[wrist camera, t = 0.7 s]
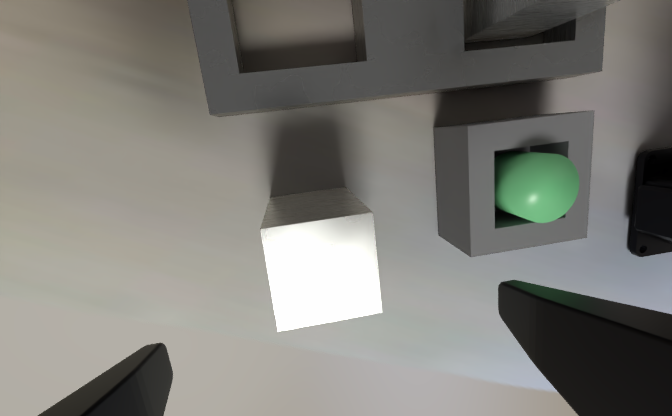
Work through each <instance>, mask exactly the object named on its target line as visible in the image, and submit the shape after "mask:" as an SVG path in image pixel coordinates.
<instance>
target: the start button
mask: <svg viewBox="0 0 672 416" xmlns="http://www.w3.org/2000/svg"><path fill="white" fill-rule="evenodd" d="M578 190H579V175H578V171H577V169H576V167H575V165H574V164H573V163H572V161H570V160H569V159H568V158H566V157H565V156H562V155H559V154H550V153H537V152H523V151H508V152H505V153H502V154H500V155H499V156H497V157H496V158H494V195H495V208H497V209H500V210H502V211H505V212H508V213H511V214H513V215H516V216H519V217H522V218H525V219H527V220H530V221H533V222H537V223H547V222H551V221H554V220H556V219H558V218H560V217H561V216H563V215H564V214H565V213H566V212H567V211H568V210H569V209H570V208H571V206H572V205H573V203H574V201H575V199H576V197H577V194H578Z"/></svg>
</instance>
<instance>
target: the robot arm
mask: <svg viewBox="0 0 672 416" xmlns="http://www.w3.org/2000/svg"><path fill="white" fill-rule="evenodd" d="M630 252H631V253H632V254H633V255H636V256H639V257H644V256H650V255H655V254H661V253H667V252H672V147H665V148H658V149H651V150H645V151H643V152H642V153H640V155H639V157H638V161H637V172H636V183H635V194H634V205H633V216H632V227H631V238H630ZM498 309H499V314H500V316H501V318H502V320H503V321H504V323H505V324H506V325H507V327H508V328H509V330H510V331H511V332H512V334H513V335H514V337H515V338H516V339H517V341H518V342H519V344H520V345H521V346H522V348H523V349H524V351H525V352H526V353H527V355H528V356H529V358H530V359H531V360H532V362H533V363H534V364H535V365H536V367H537V368H538V369H539V370H540V371H541V373H542V374H543V375H544V376H545V377H546V379H547V380H548V381H549V382H550V383H551V384H552V385H553V387H554V388H555V389H556V390H557V391H558V392H559V394H560V395H561V396H562V397H563V398H564V399H565V400H566V402H568V404H569V405H570V406H571V407H572V409H574V411H575V412H576V413H577V414H578V415H579V416H672V315H671V314H667V313H663V312H658V311H654V310H649V309H645V308H640V307H636V306H631V305H627V304H622V303H617V302H613V301H608V300H604V299H599V298H595V297H590V296H586V295H581V294H577V293H572V292H567V291H563V290H558V289H554V288H549V287H545V286H540V285H536V284H531V283H527V282H522V281H517V280H510V281H505V282H501V283H500V284H499V287H498ZM172 379H173V371H172V367H171V363H170V360H169V356H168V353H167V349H166V346H165V345H164V344H163V343H156V344H151V345H146V346H144V347H143V348H141V349H139V350H138V351H136V352H135V353H133V354H132V355H130V356H129V357H127V358H126V359H124V360H122V361H121V362H120V363H118V364H116V365H115V366H113V367H112V368H110V369H109V370H107V371H106V372H104V373H102V374H101V375H99V376H98V377H96V378H95V379H93V380H92V381H90V382H89V383H87V384H86V385H84V386H82V387H81V388H79V389H78V390H77V391H75V392H73V393H72V394H70V395H69V396H67V397H66V398H64V399H62V400H61V401H59V402H58V403H56V404H55V405H53V406H52V407H50V408H49V409H47V410H46V411H44V412H43V413H41V414H39V415H38V416H163V415H164V411H165V407H166V403H167V399H168V395H169V391H170V388H171V384H172Z"/></svg>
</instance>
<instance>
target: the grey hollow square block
mask: <svg viewBox="0 0 672 416" xmlns="http://www.w3.org/2000/svg"><path fill="white" fill-rule="evenodd" d="M593 127H594V111H582V112H569V113H556V114H543V115H533V116H525V117H517V118H509V119H501V120H493V121H485V122H477V123H468V124H460V125H452V126H444V127H436V128H434V148H435V169H436V190H437V211H438V232H439V236H440V237H442V238H443V239H445V240H446V241H448V242H449V243H451V244H452V245H454V246H455V247H457V248H458V249H460V250H461V251H463V252H464V253H465V254H467V255H468V256H470V257H475V256H481V255H487V254H493V253H499V252H505V251H511V250H517V249H523V248H529V247H535V246H541V245H546V244H552V243H558V242H564V241H570V240H576V239H582V238H587V227H588V210H589V194H590V177H591V160H592V143H593ZM508 151H523V152H537V153H550V154H559V155H562V156H565V157H566V158H568V159H569V160H570V161H572V163H573V164H574V165H575V167H576V169H577V171H578V175H579V190H578V194H577V197H576V199H575V201H574V203H573V205H572V206H571V208H570V209H569V210H568V211H567V212H566V213H565V214H564V215H563V216H561V217H560V218H558V219H556V220H554V221H551V222H547V223H537V222H533V221H530V220H527V219H525V218H522V217H519V216H516V215H513V214H511V213H508V212H505V211H502V210H500V209H497V208H495V195H494V158H496V157H497V156H499V155H500V154H502V153H505V152H508Z"/></svg>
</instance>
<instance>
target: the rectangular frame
mask: <svg viewBox="0 0 672 416" xmlns="http://www.w3.org/2000/svg"><path fill="white" fill-rule="evenodd" d="M187 1H188V6H189V11H190V16H191V21H192V26H193V31H194V36H195V41H196V46H197V52H198V57H199V62H200V67H201V72H202V77H203V82H204V87H205V92H206V97H207V102H208V108H209V113H210V115H213V116H218V117H224V116H233V115H242V114H251V113H260V112H268V111H277V110H286V109H295V108H304V107H313V106H322V105H331V104H340V103H349V102H358V101H367V100H376V99H385V98H394V97H402V96H411V95H420V94H429V93H438V92H447V91H456V90H465V89H474V88H483V87H492V86H501V85H510V84H519V83H528V82H536V81H545V80H554V79H563V78H571V77H575V76H580V75H585V74H590V73H595V72H600V71H602V62H603V46H604V31H605V15H606V6H605V7H603V8H600V9H598V10H595V11H593V12H590V13H588V14H585V15H583V16H581V17H578V18H576V19H573V20H571V21H568V22H566V23H563V24H561V25H558V26H556V27H553V28H551V29H548V30H546V31H544V44H533V45H523V46H513V47H503V48H493V49H483V50H473V51H464V16H463V0H351V1H352V11H353V22H354V32H355V43H356V53H357V62H352V63H342V64H332V65H322V66H311V67H301V68H291V69H281V70H271V71H261V72H251V73H244V70H243V64H242V58H241V52H240V46H239V40H238V34H237V28H236V23H235V17H234V11H233V5H232V0H187Z"/></svg>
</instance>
